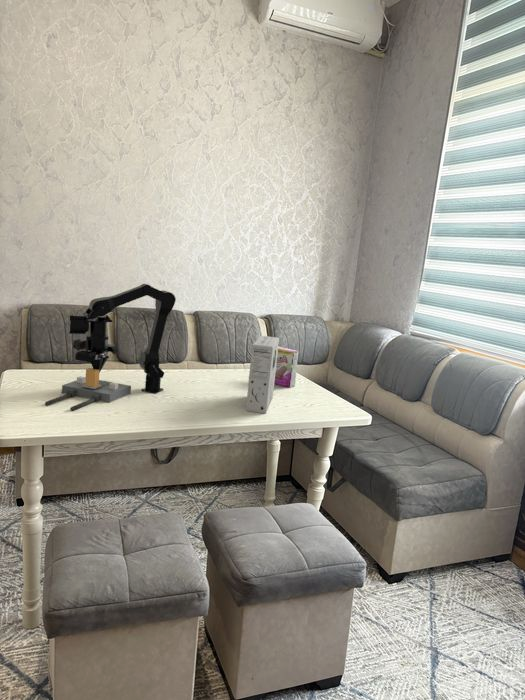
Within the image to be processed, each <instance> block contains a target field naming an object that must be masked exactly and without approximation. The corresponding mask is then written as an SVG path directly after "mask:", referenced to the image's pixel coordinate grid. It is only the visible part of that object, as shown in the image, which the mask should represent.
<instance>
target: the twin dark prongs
mask: <svg viewBox="0 0 525 700" xmlns="http://www.w3.org/2000/svg"><path fill="white" fill-rule="evenodd" d="M71 396H72V394H71V393H68V394H63V395H60V396H58V397H55V398H52V399H49V400H47V401H45V402H44V405H45V406H46V407H47V406H51V405H52V404H55V403H59V402H60V401H65V400H66V399H70V398H72V397H71ZM95 401H96V399H95V398H92V399H88V400H84V401H82V402H80V403H77V404H75V405H73V406H71V407H70V411H71V412H73V411H75V410H78V409H80V408H83V407H85V406H88V405H90V404H92V403H96V402H95Z"/></svg>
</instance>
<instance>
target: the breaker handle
mask: <svg viewBox="0 0 525 700" xmlns="http://www.w3.org/2000/svg"><path fill="white" fill-rule="evenodd" d="M85 377H86V382H85V385H83V386H82V387H85V388H91V389H96V388H98V387H101V386H102V385H100V384H99V380H100V373H99V370H98V369H93V367H89V368H86V369H85Z"/></svg>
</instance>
